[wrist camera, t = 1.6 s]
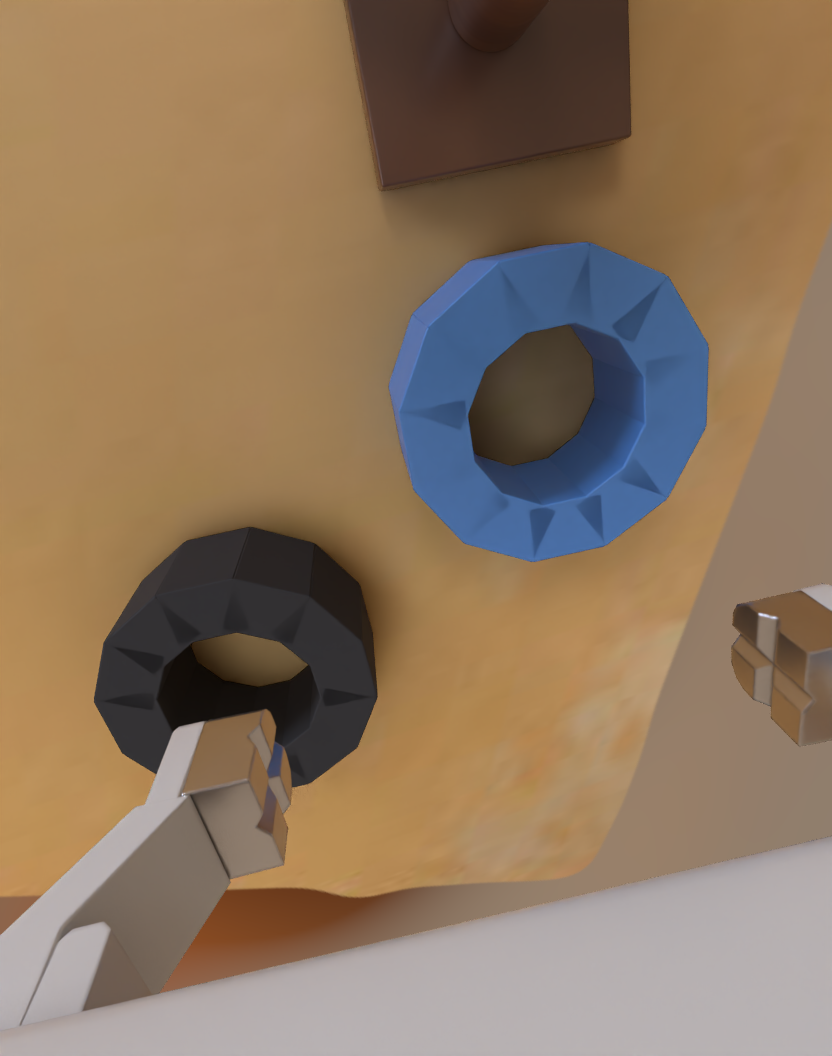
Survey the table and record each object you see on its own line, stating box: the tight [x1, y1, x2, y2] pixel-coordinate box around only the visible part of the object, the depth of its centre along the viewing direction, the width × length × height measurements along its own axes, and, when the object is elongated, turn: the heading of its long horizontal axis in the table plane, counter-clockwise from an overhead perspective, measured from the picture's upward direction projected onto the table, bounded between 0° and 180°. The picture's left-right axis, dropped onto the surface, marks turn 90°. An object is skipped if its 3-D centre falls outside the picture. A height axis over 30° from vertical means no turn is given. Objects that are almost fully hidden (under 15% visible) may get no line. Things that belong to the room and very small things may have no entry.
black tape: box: [94, 527, 377, 787], centre depth 27 cm, size 11×11×5 cm
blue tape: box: [389, 242, 709, 562], centre depth 23 cm, size 11×11×5 cm
